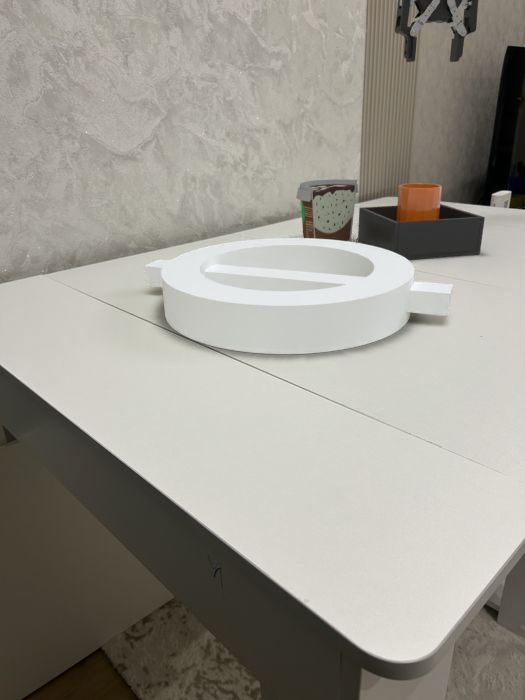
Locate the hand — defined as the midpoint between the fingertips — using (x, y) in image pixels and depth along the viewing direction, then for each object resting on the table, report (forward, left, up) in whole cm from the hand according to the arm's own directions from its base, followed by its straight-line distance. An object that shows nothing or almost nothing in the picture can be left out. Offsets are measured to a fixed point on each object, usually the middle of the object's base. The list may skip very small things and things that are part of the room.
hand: (432, 61), depth 98 cm
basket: (+11, +21, -28) cm, 37 cm away
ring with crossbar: (+38, +43, -28) cm, 64 cm away
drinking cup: (+11, +21, -28) cm, 36 cm away
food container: (+25, +14, -28) cm, 40 cm away
